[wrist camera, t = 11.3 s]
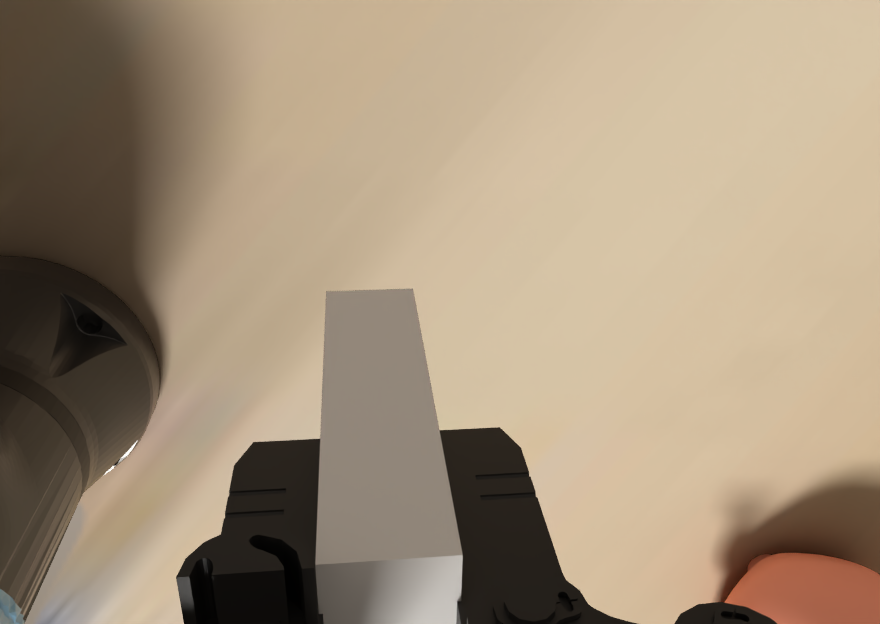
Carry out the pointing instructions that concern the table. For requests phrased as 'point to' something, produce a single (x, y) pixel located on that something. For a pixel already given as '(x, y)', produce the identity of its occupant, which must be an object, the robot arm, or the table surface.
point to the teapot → (809, 590)
